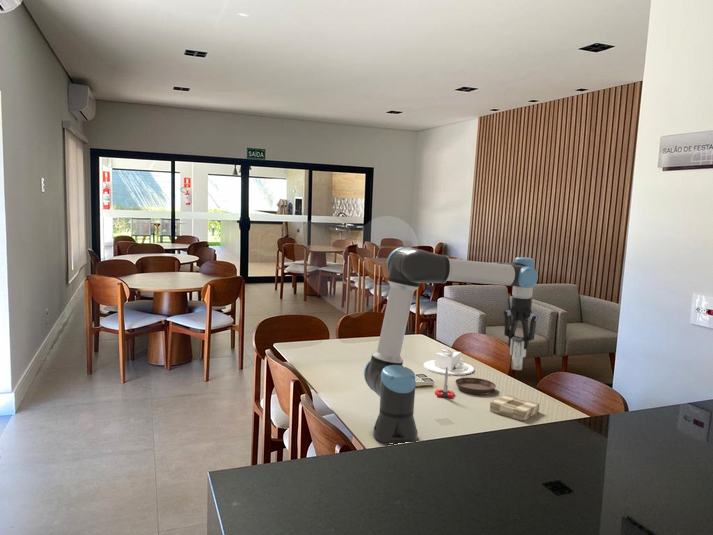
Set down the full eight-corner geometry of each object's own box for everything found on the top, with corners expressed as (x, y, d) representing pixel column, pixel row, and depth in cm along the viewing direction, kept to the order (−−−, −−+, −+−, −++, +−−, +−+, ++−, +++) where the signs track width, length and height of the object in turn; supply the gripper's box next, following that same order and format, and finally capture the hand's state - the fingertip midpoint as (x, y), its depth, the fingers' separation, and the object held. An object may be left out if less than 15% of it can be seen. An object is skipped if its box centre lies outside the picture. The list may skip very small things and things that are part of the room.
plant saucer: (466, 380, 251) (466, 374, 251) (502, 389, 240) (502, 383, 240) (447, 389, 238) (448, 382, 237) (484, 399, 227) (484, 392, 226)
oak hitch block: (523, 421, 203) (523, 412, 203) (489, 410, 212) (490, 402, 212) (538, 412, 213) (539, 403, 213) (506, 402, 223) (506, 394, 222)
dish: (451, 379, 253) (453, 356, 252) (413, 366, 272) (414, 344, 271) (483, 371, 269) (485, 349, 268) (445, 359, 288) (447, 339, 287)
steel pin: (519, 371, 208) (522, 338, 207) (507, 368, 211) (509, 336, 210) (525, 368, 212) (528, 336, 211) (513, 366, 215) (515, 334, 214)
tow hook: (434, 391, 235) (434, 397, 226) (436, 362, 234) (436, 366, 225) (454, 393, 234) (454, 399, 225) (456, 363, 233) (457, 368, 224)
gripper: (547, 299, 206) (542, 358, 208) (506, 293, 217) (502, 349, 220) (538, 301, 200) (534, 362, 203) (497, 294, 212) (493, 352, 214)
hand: (517, 355), depth 211 cm, fingers closed on steel pin, 4 cm apart
